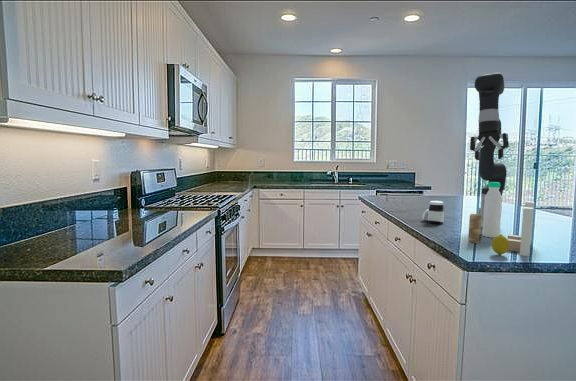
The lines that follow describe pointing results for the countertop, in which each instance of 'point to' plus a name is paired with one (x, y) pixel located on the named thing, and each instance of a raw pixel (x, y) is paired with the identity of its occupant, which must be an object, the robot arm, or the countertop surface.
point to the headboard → (523, 232)
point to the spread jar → (434, 213)
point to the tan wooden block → (475, 228)
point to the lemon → (500, 244)
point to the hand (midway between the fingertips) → (488, 159)
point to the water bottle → (492, 211)
